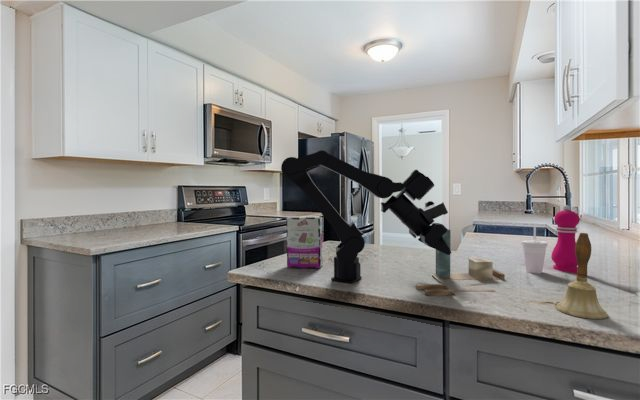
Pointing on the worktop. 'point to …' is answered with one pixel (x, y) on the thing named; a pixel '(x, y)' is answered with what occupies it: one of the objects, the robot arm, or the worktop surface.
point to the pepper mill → (565, 241)
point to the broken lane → (445, 289)
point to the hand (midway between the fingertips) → (448, 252)
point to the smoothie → (534, 254)
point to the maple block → (480, 268)
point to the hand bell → (582, 287)
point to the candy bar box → (304, 242)
